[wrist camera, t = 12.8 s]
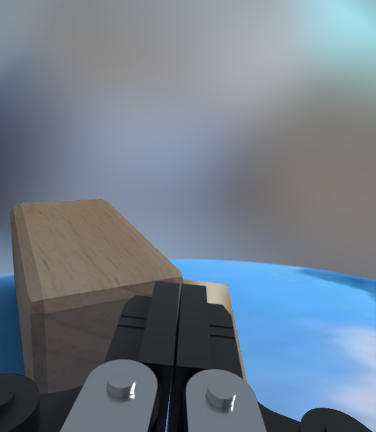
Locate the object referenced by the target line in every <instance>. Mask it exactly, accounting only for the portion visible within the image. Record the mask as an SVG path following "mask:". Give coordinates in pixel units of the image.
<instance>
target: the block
mask: <svg viewBox="0 0 376 432" xmlns="http://www.w3.org/2000/svg"><path fill="white" fill-rule="evenodd" d="M10 221H11V235H12V249H13V263H14V279H15V290H16V299H17V308H18V317H19V326H20V335H21V343H22V352H23V361H24V370H25V376H27V377H28V378H30V379H32V380H33V381H34V382H35V383H36V384H37V386H38V388H39V393H40V395H41V394H47V393H54V392H60V391H66V390H70V389H74V388H77V387H79V386H81V385H83V384H84V383H85V381H86V379H87V378H88V376H89V375H90V373H91V372H92V371H93V370H94V369H96V368H97V367H98V366H100V365H102V364H103V363H104V360H105V358H106V355H107V352H108V349H109V346H110V344H111V341H112V338H113V335H114V332H115V330H116V327H117V324H118V321H119V318H120V317H121V313H122V310H123V307H124V305H125V303H126V302H127V301H129V300H130V299H131V298H132V297H134V296H135V295H140V296H149V297H152V294H153V289H154V285H155V281H156V280H158V281H166V282H175V283H180V287H179V299H178V309H179V301H180V293H181V285H182V283H184V282H183V278H182V275H181V272H180V271H179V270H178V269H177V268H176V267H175V266H174V265H173V264H172V263H171V262H170V261H169V260H168V259H167V258H166V257H165V256H164V255H163V254H162V253H161V252H159V250H158V249H157V248H155V247H154V246H153V245H152V244H151V243H150V242H149V241H148V240H147V239H146V238H145V237H144V236H143V235H142V234H141V233H140V232H139V231H138V230H137V229H136V228H134V226H132V224H130V223H129V222H128V221H127V220H126V219H125V218H124V217H123V216H122V215H121V214H120V213H119V212H118V211H117V210H116V209H115V208H114V207H113V206H112V205H111V204H110V203H109V202H107V201H105V200H102V199H99V200H76V201H55V202H32V203H19V204H17V205H15V206H13V207H12V209H11V212H10ZM177 317H178V311H177ZM176 325H177V324H176ZM170 390H171V387H170Z"/></svg>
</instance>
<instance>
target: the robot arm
mask: <svg viewBox="0 0 376 432" xmlns="http://www.w3.org/2000/svg"><path fill="white" fill-rule="evenodd" d="M179 287H180V283H175V282H166V281H158V280H156V281H155V285H154V289H153V294H152V297H149V296H140V295H135V296H134V297H132V298H131V299H130V300H129V301H127V302H126V303H125V305H124V307H123V310H122V313H121V317H120V318H119V321H118V324H117V327H116V330H115V332H114V335H113V338H112V341H111V344H110V346H109V349H108V352H107V355H106V358H105V360H104V363H103V364H102V365H100V366H98V367H97V368H96V369H94V370H93V371H92V372H91V373H90V375H89V376H88V378H87V379H86V381H85V383H84V384H83V385H81V386H79V387H77V388H74V389H70V390H66V391H60V392H54V393H47V394H41V395H40V393H39V388H38V386H37V384H36V383H35V382H34V381H33V380H32V379H30V378H28V377H27V376H24V375H20V374H0V432H165V427H166V419H167V411H168V403H169V414H168V427H167V432H372V431H371V430H369V429H368V428H367V427H365V426H364V425H363V424H362V423H360V422H359V421H357V420H356V419H354V418H353V417H351V416H349V415H347V414H345V413H343V412H341V411H337V410H334V409H329V408H315V409H312V410H310V411H308V412H307V413H306V414H304V416H303V417H302V419H301V422H299V421H296V420H294V419H291V418H288V417H286V416H283V415H280V414H278V413H276V412H273V411H271V410H269V409H268V408H266V407H264V406H263V405H261V404H260V403H259V402H258V401H257V399H256V396H255V394H254V391H253V390H252V388H251V387H250V385H249V384H248V383H247V382H246V381H245V380H243V375H242V369H241V364H240V358H239V353H238V348H237V342H236V340H235V338H236V337H235V332H234V326H233V321H232V315H231V314H230V313H229V312H228V311H227V309H226V308H225V307H224V306H223V305H222V304H213V303H207V290H206V286H203V285H194V284H185V283H182V285H181V293H180V301H179V309H178V299H179ZM177 311H178V317H177ZM176 324H177V325H176ZM170 387H171V390H170ZM169 395H170V402H169Z"/></svg>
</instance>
